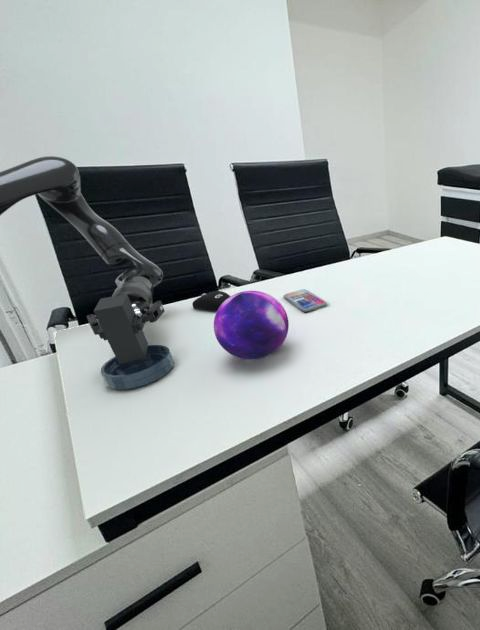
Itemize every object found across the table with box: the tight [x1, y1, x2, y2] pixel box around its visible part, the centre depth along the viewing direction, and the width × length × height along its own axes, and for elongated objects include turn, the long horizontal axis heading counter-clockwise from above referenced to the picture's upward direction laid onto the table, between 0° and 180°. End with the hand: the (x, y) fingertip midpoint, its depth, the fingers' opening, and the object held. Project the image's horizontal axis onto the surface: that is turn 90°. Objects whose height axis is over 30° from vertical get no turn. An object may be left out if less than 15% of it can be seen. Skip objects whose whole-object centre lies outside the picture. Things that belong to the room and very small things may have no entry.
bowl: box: [100, 344, 175, 390], centre depth 82 cm, size 12×12×4 cm
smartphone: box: [283, 288, 328, 313], centre depth 113 cm, size 7×1×15 cm
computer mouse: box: [191, 290, 232, 312], centre depth 112 cm, size 8×12×4 cm, turn 70°
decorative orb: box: [213, 290, 290, 360], centre depth 84 cm, size 15×15×15 cm
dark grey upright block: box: [93, 294, 149, 364], centre depth 78 cm, size 4×6×12 cm
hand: (120, 332), depth 75 cm, fingers closed on dark grey upright block, 4 cm apart
